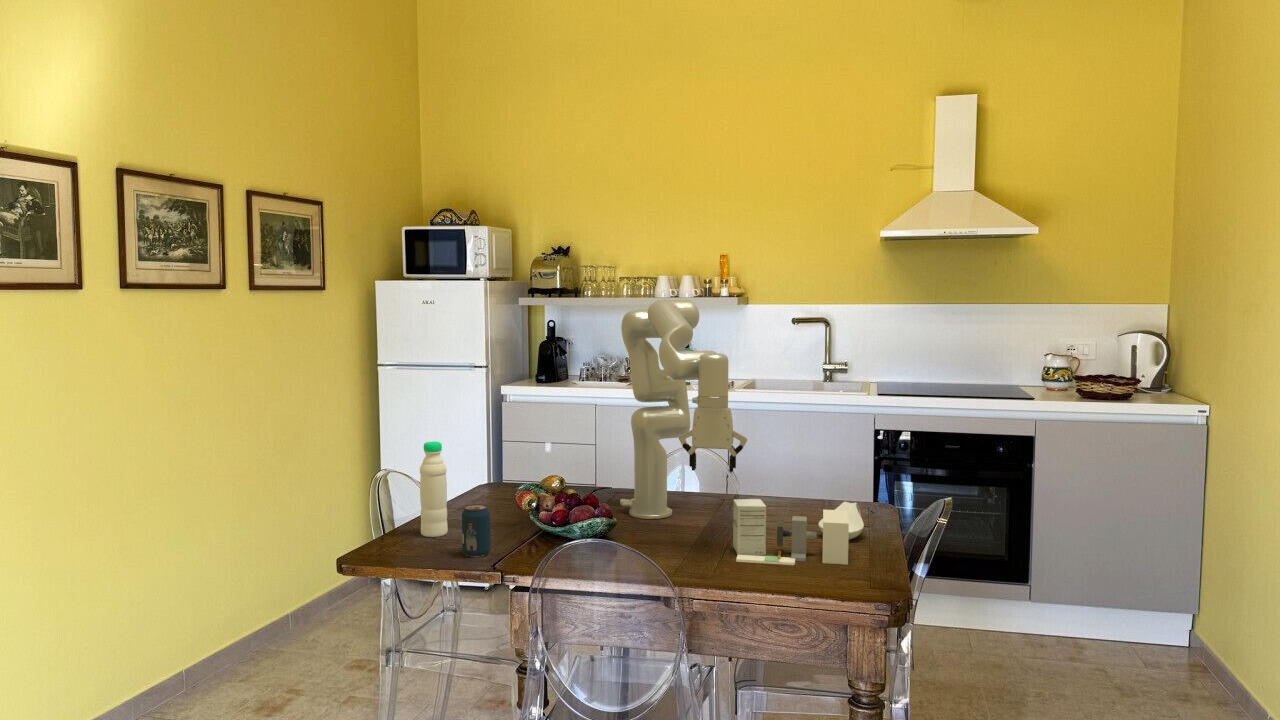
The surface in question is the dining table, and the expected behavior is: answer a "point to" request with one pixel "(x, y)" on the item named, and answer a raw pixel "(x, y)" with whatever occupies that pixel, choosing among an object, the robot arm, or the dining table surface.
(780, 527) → the plunger
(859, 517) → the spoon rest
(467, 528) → the soda can
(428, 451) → the cream plastic bottle
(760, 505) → the supplement box
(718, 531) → the dining table surface
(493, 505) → the dining table surface
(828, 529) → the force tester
